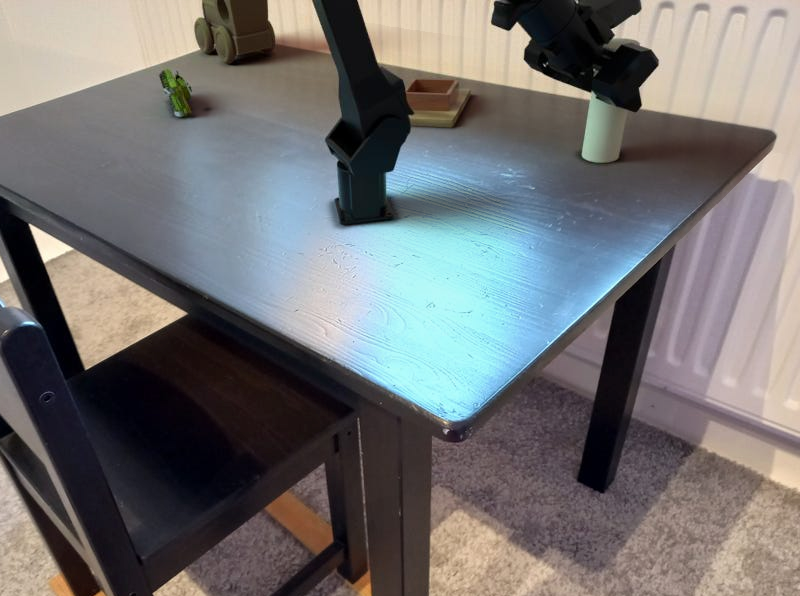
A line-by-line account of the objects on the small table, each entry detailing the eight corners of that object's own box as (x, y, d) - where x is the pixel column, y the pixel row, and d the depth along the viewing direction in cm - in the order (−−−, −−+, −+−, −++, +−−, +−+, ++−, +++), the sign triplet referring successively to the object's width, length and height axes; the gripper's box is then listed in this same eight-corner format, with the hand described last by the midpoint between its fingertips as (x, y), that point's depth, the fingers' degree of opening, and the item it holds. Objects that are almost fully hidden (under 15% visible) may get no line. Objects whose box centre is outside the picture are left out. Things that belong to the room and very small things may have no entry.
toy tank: (150, 90, 113) (208, 67, 114) (142, 61, 128) (194, 40, 128) (168, 131, 118) (224, 108, 118) (159, 98, 132) (208, 78, 133)
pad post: (624, 160, 91) (647, 46, 82) (589, 164, 91) (608, 50, 82) (610, 147, 95) (630, 36, 86) (576, 151, 95) (592, 40, 86)
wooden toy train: (284, 58, 141) (274, -36, 131) (233, 70, 137) (218, -26, 127) (241, 39, 155) (229, -47, 145) (193, 50, 151) (177, -37, 141)
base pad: (452, 127, 105) (453, 102, 102) (387, 124, 108) (387, 100, 106) (470, 96, 115) (471, 72, 113) (410, 94, 118) (410, 71, 116)
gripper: (663, -33, 70) (724, 63, 79) (555, -55, 84) (617, 28, 94) (583, 63, 73) (650, 145, 83) (492, 26, 88) (558, 99, 97)
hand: (618, 100), depth 89 cm, fingers open, 7 cm apart
